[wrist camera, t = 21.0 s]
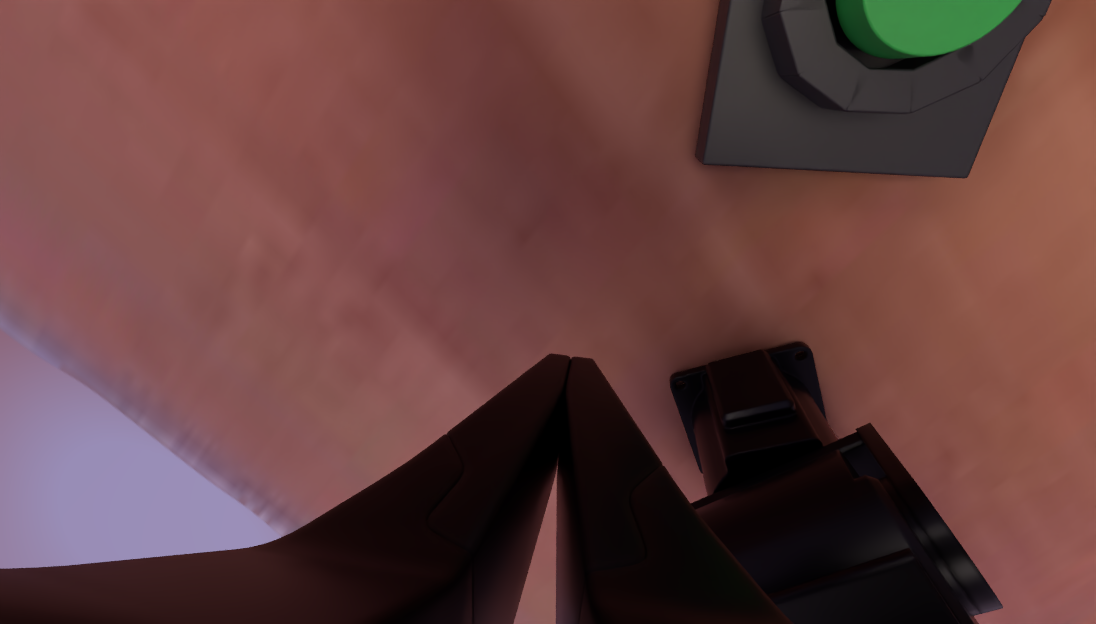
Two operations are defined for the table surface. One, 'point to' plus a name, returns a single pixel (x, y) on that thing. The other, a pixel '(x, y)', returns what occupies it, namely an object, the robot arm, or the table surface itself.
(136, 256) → the table surface
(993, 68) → the control box
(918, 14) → the button
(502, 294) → the table surface
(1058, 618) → the table surface
